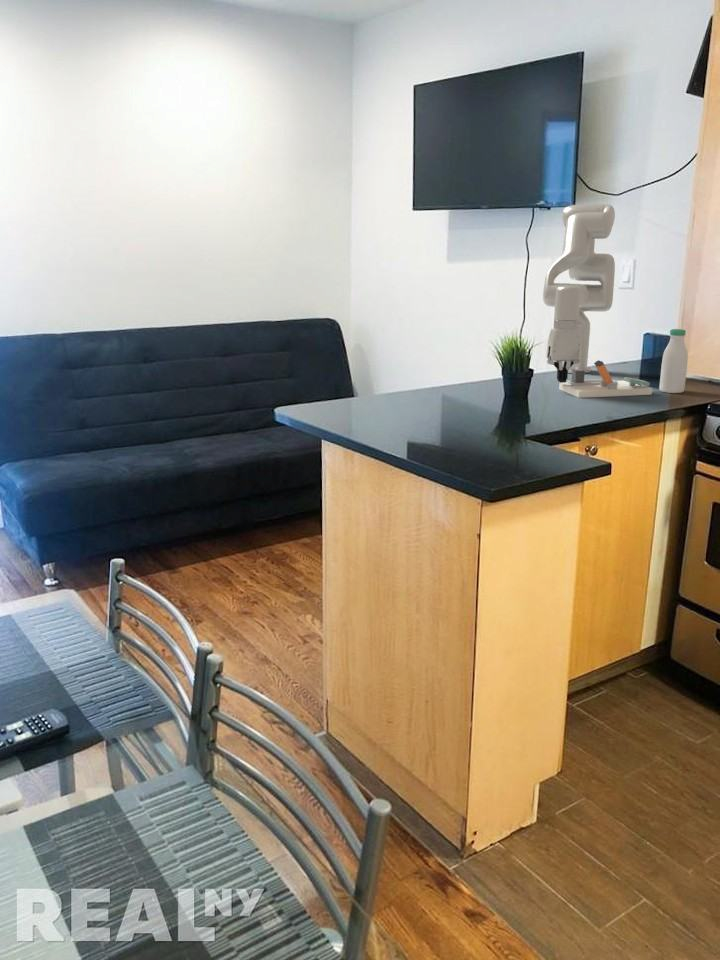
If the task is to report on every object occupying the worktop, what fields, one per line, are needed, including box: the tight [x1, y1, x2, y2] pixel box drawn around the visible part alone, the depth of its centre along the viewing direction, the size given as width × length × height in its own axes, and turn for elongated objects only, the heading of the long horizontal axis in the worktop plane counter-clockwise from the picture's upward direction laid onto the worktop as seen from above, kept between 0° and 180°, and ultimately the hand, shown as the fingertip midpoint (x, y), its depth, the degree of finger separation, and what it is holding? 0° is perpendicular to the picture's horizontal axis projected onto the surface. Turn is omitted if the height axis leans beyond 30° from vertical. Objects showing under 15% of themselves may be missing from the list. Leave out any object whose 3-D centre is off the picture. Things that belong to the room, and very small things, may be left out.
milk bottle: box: [658, 328, 689, 394], centre depth 263 cm, size 8×8×20 cm
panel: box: [558, 378, 653, 399], centre depth 265 cm, size 15×25×4 cm, turn 100°
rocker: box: [623, 376, 651, 387], centre depth 262 cm, size 6×7×1 cm
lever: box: [593, 359, 613, 385], centre depth 260 cm, size 4×2×8 cm
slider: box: [571, 367, 586, 383], centre depth 267 cm, size 3×3×5 cm
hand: (561, 381), depth 267 cm, fingers closed
